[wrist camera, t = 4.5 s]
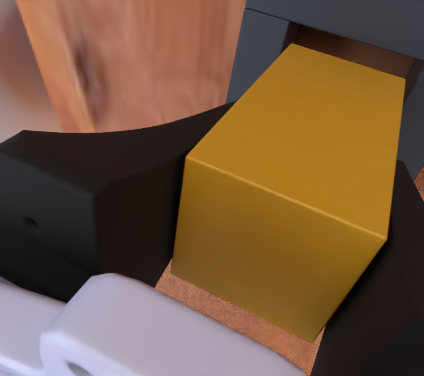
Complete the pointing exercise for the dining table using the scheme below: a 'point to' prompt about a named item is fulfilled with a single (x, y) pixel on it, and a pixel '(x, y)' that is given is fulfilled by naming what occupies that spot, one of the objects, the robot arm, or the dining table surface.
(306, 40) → the dining table surface
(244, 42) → the peg stand
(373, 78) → the mustard peg
